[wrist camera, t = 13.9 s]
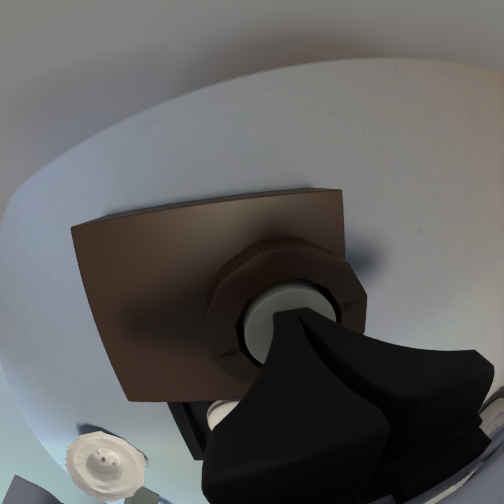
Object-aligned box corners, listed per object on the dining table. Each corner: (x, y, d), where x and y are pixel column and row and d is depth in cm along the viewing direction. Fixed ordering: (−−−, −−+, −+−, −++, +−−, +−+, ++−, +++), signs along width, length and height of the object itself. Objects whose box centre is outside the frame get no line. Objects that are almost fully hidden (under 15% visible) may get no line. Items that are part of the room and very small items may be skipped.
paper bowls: (514, 388, 27) (536, 407, 19) (466, 446, 29) (483, 469, 22) (498, 379, 24) (527, 405, 16) (436, 451, 26) (457, 481, 19)
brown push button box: (322, 340, 17) (356, 398, 12) (144, 361, 17) (120, 423, 11) (316, 187, 15) (367, 190, 9) (106, 215, 14) (48, 234, 8)
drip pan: (303, 434, 20) (309, 452, 18) (193, 446, 19) (191, 466, 17) (304, 349, 17) (313, 370, 15) (159, 366, 17) (152, 387, 15)
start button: (322, 339, 12) (335, 360, 10) (247, 352, 12) (250, 375, 10) (322, 268, 11) (337, 282, 10) (236, 279, 11) (238, 297, 9)
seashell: (107, 421, 23) (47, 435, 16) (129, 422, 20) (59, 442, 13) (135, 479, 20) (81, 500, 13) (161, 487, 18) (100, 516, 11)
